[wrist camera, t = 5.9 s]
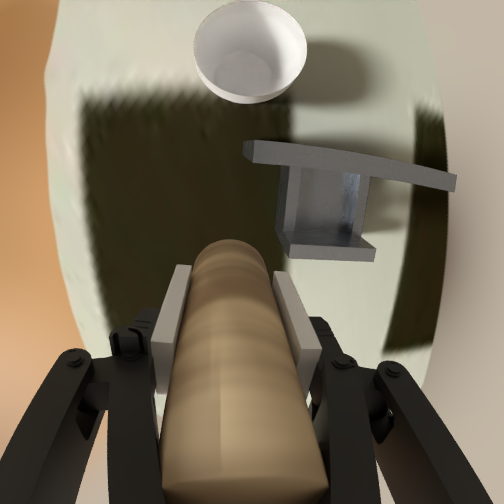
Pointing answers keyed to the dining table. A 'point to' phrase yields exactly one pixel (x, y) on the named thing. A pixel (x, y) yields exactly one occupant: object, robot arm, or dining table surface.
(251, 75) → the cup
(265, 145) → the bracket
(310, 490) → the wooden dowel
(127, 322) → the dining table surface
